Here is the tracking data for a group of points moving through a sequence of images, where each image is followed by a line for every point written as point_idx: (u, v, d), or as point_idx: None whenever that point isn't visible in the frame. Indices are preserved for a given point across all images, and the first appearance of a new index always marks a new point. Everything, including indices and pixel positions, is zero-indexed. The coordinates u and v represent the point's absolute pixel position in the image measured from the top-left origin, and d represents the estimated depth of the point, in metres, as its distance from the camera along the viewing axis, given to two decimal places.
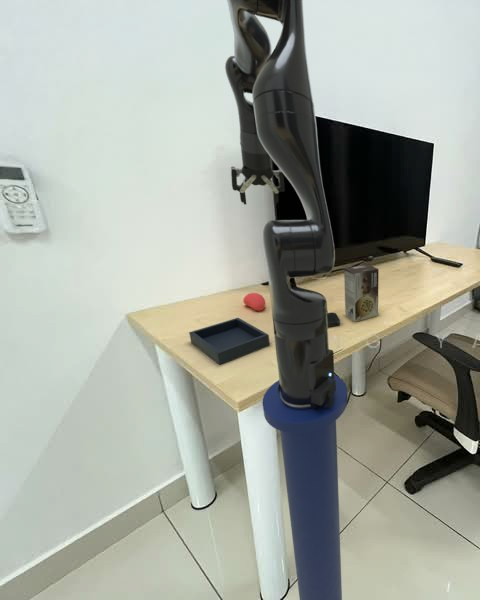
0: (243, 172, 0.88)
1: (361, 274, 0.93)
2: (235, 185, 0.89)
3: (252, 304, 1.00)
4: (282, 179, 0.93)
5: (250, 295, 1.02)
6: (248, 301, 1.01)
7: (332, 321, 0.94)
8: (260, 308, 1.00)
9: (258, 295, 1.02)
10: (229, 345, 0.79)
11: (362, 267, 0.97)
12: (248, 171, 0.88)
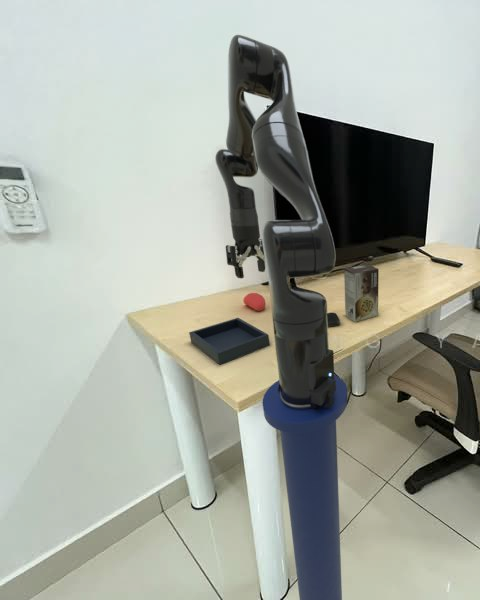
0: (239, 247, 0.93)
1: (361, 274, 0.93)
2: (235, 261, 0.92)
3: (252, 304, 1.00)
4: None
5: (250, 295, 1.02)
6: (248, 301, 1.01)
7: (332, 321, 0.94)
8: (260, 308, 1.00)
9: (258, 295, 1.02)
10: (229, 345, 0.79)
11: (362, 267, 0.97)
12: (243, 245, 0.93)
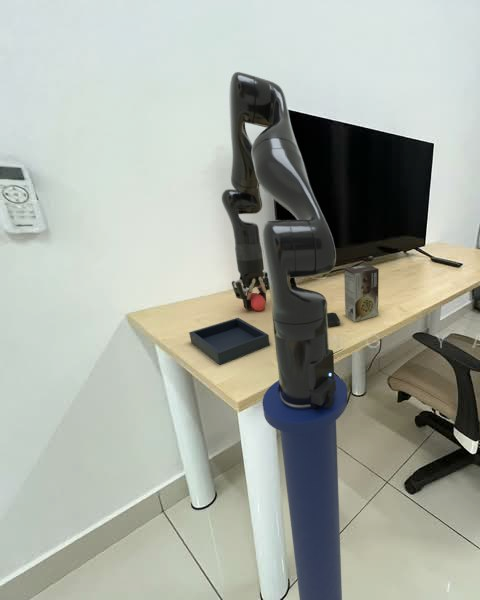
0: (244, 280, 0.96)
1: (361, 274, 0.93)
2: (243, 294, 0.97)
3: (252, 304, 1.00)
4: None
5: (250, 295, 1.02)
6: None
7: (332, 321, 0.94)
8: (260, 308, 1.00)
9: (258, 295, 1.02)
10: (229, 345, 0.79)
11: (362, 267, 0.97)
12: (247, 277, 0.97)
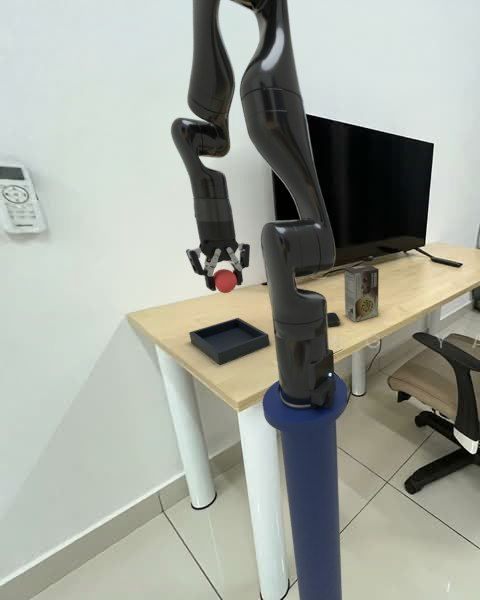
0: (203, 248, 0.71)
1: (361, 274, 0.93)
2: (200, 269, 0.71)
3: (216, 283, 0.74)
4: (248, 252, 0.79)
5: (217, 271, 0.76)
6: None
7: (332, 321, 0.94)
8: (224, 289, 0.74)
9: (226, 272, 0.76)
10: (229, 345, 0.79)
11: (362, 267, 0.97)
12: (209, 246, 0.71)
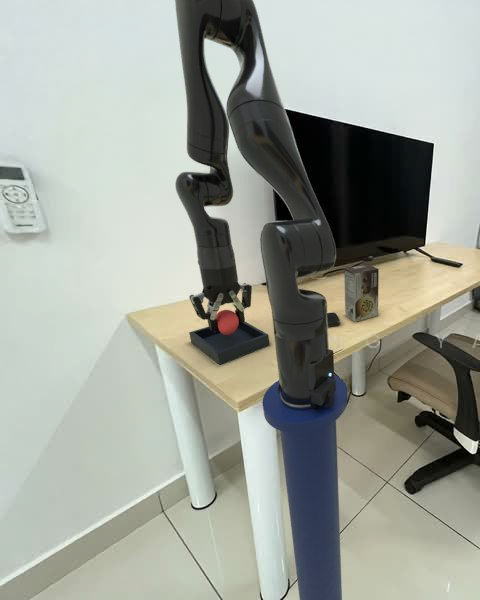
0: (206, 294, 0.72)
1: (361, 274, 0.93)
2: (203, 313, 0.73)
3: (218, 326, 0.76)
4: (250, 293, 0.80)
5: (220, 313, 0.78)
6: None
7: (332, 321, 0.94)
8: (227, 332, 0.75)
9: (229, 314, 0.77)
10: (229, 345, 0.79)
11: (362, 267, 0.97)
12: (212, 291, 0.73)
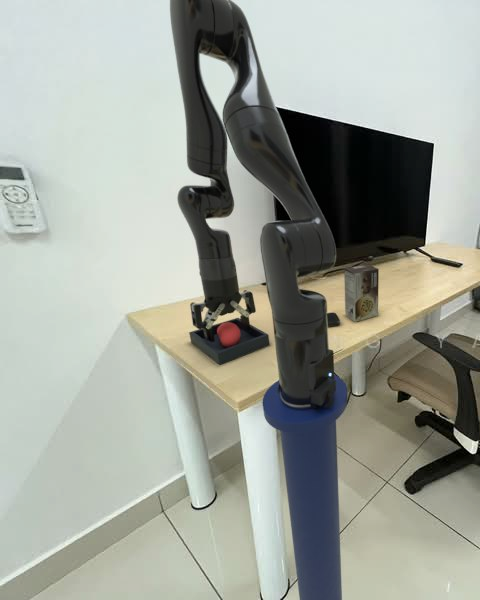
0: (208, 304, 0.73)
1: (361, 274, 0.93)
2: (200, 322, 0.72)
3: (220, 339, 0.77)
4: (252, 299, 0.81)
5: (222, 326, 0.79)
6: (218, 334, 0.79)
7: (332, 321, 0.94)
8: (229, 345, 0.77)
9: (231, 327, 0.78)
10: None
11: (362, 267, 0.97)
12: (214, 302, 0.74)
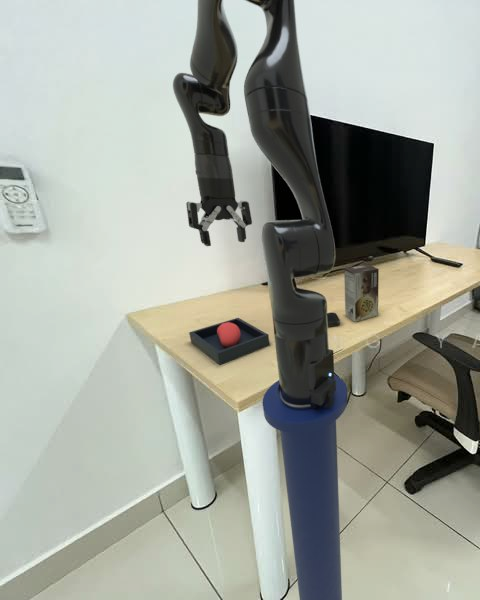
0: (204, 205, 0.73)
1: (361, 274, 0.93)
2: (196, 222, 0.73)
3: (220, 339, 0.77)
4: (248, 210, 0.81)
5: (222, 326, 0.79)
6: (218, 334, 0.79)
7: (332, 321, 0.94)
8: (229, 345, 0.77)
9: (231, 327, 0.78)
10: None
11: (362, 267, 0.97)
12: (210, 203, 0.74)
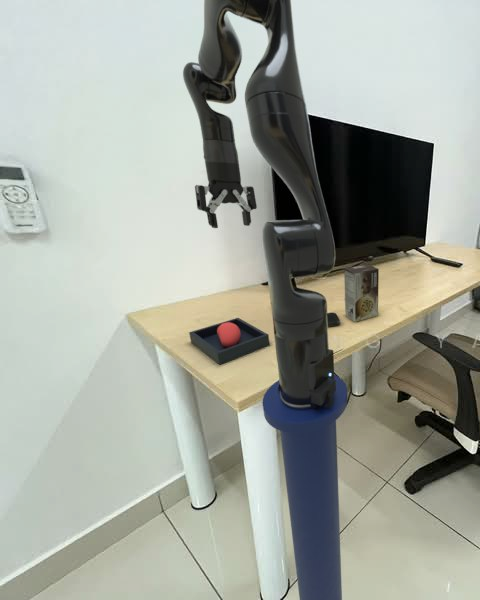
0: (212, 188, 0.77)
1: (361, 274, 0.93)
2: (204, 204, 0.77)
3: (220, 339, 0.77)
4: (253, 194, 0.85)
5: (222, 326, 0.79)
6: (218, 334, 0.79)
7: (332, 321, 0.94)
8: (229, 345, 0.77)
9: (231, 327, 0.78)
10: None
11: (362, 267, 0.97)
12: (217, 187, 0.78)
